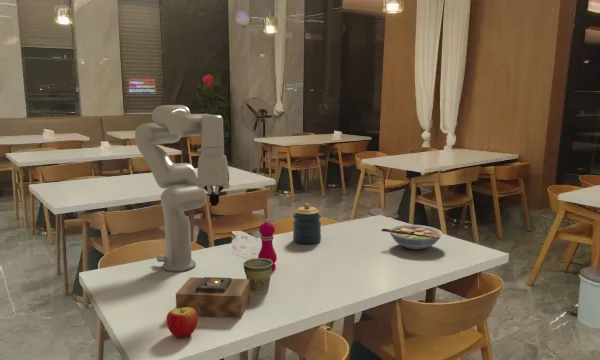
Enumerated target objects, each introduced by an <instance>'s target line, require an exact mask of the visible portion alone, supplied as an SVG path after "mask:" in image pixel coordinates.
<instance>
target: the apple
mask: <svg viewBox="0 0 600 360" xmlns="http://www.w3.org/2000/svg"><path fill="white" fill-rule="evenodd" d="M177 305H178V306H179V304H177ZM179 307H180V306H179ZM198 319H199V317H198V316H197V312H196V311H195V309H193V308H191V307H184V308H181V307H180V308H178V309H176V308H174V309H172V310H170V311H168V313H167V315H166V326H167V329H168V330H169V332H170V333H171V334H172V335H173V336H174V337H176V338H180V339H182V338H187V337H189V336H190V335H192V334H194V332H195V330H196V328H197V326H198V322H199V321H198Z"/></svg>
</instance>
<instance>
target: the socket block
mask: <svg viewBox="0 0 600 360" xmlns="http://www.w3.org/2000/svg"><path fill="white" fill-rule="evenodd" d="M211 279H219V280H221V285H220V286H207V281H208V280H211ZM250 301H251V293H250V279H247V278H232V277H214V276H213V277H212V276H211V277H210V276H204V277H199V276H198V277H195V276H194V277H191V276H190V277H189V278H188V279H187V280H186V281H185V282H184V284H183V285H182V286H181V287H180V288H179V289H178V290H177V291H176V293H175V305H176V306H175V307H176V308H175V309H178V308H180V307H181V308H184V307H191V308H193V309H195V311H196V312H197V316H198V318H200V317H203V318H204V317H205V318H224V319H225V318H227V319H228V318H229V319H242V318H243V316H244V314H245V311H246V309H247V307H248V305H249V302H250ZM177 304H179V306H180V307H179V306H178V305H177Z"/></svg>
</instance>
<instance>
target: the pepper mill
mask: <svg viewBox="0 0 600 360" xmlns="http://www.w3.org/2000/svg"><path fill="white" fill-rule="evenodd" d="M275 230H276V227H275V225H274V224H273V223H271V222H270V219H269V218H265V219H264V222H263V223H261V224H260V226H259V228H258V232H259V234H260V240H261V248H260V251H259V252H258V256H257V258H264V259H271V260H272V262H273V265H272V272H274V271H275V270H276V269H277V268H276V266H277V265H276V262H277V260H278V256H277V253H276V250H275V249H274V245H273V240H274V238H275V237H274V236H275V235H274V234H275V232H276V231H275Z"/></svg>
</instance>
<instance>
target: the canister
mask: <svg viewBox="0 0 600 360" xmlns="http://www.w3.org/2000/svg"><path fill="white" fill-rule="evenodd" d="M319 213H320V210H319V209H318V208H316V207H314V206H311V204H310V203H304V205H303V206H299V207H297V209H295V210H294V214H293V215H292V218H293V221H292V225H293V228H292V231H293V232H292V233H293V234H292V239H293V240H292V241H293V243H296V244H299V245H316V244H318V243H320V242H321V240H322V239H321V238H322V235H321V234H322V231H321V229H322V227H321V225H322V222H321V218H322V215H321V214H319Z"/></svg>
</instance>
